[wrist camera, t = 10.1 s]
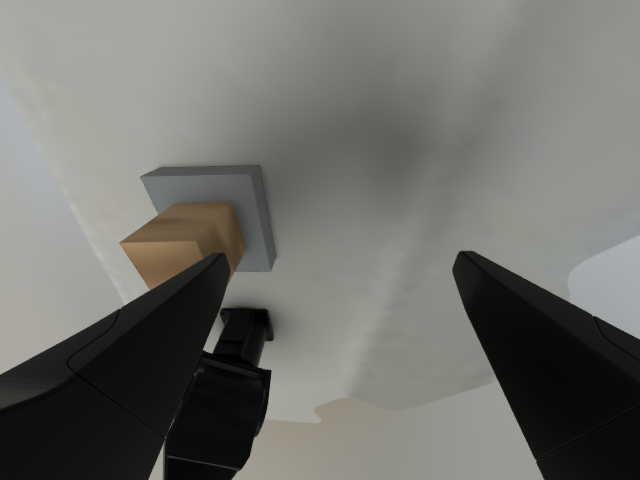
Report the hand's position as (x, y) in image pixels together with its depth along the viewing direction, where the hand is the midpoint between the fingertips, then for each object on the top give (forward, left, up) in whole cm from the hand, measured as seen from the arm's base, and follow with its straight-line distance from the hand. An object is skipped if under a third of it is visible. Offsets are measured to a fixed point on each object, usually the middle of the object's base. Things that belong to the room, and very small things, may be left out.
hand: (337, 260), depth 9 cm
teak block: (-5, +11, -10) cm, 16 cm away
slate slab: (-5, +11, -13) cm, 18 cm away
